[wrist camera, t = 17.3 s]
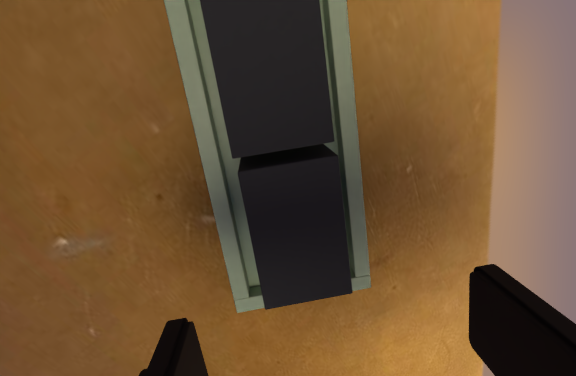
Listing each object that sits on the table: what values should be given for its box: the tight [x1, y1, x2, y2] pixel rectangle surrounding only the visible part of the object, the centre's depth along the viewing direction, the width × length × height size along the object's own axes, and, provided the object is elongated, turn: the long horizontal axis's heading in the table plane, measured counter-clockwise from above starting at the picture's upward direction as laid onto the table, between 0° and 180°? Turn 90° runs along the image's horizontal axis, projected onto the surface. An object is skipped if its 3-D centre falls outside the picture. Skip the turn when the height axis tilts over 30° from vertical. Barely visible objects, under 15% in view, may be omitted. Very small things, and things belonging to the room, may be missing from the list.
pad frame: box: [164, 0, 371, 313], centre depth 19 cm, size 20×9×2 cm, turn 9°
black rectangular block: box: [200, 0, 335, 159], centre depth 17 cm, size 8×5×4 cm, turn 8°
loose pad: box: [238, 144, 352, 309], centre depth 19 cm, size 8×5×4 cm, turn 8°
